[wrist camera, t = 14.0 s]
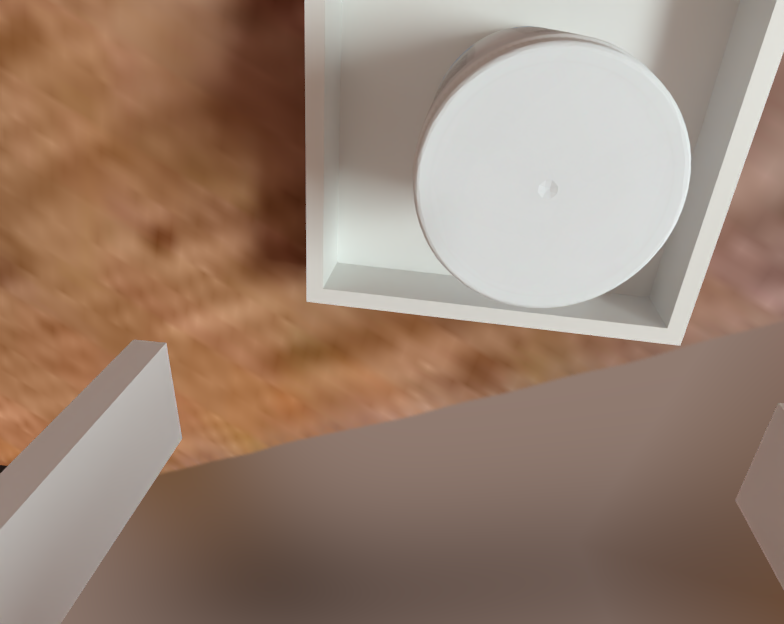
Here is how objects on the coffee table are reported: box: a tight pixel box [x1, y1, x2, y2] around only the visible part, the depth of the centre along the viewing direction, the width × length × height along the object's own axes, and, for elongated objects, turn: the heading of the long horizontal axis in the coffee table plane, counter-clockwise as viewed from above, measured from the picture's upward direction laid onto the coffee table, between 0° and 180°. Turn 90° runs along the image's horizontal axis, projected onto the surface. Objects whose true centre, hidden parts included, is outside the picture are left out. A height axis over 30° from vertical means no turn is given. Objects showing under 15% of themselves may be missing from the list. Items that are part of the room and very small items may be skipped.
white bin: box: [304, 0, 784, 346], centre depth 31 cm, size 22×22×5 cm
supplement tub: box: [413, 26, 691, 308], centre depth 26 cm, size 10×10×15 cm
